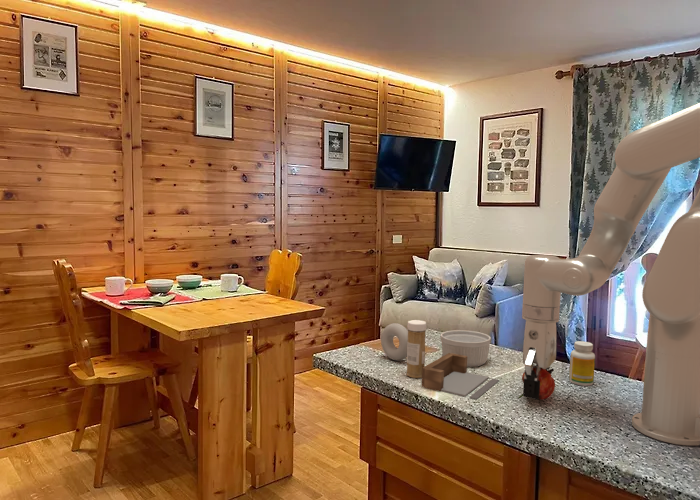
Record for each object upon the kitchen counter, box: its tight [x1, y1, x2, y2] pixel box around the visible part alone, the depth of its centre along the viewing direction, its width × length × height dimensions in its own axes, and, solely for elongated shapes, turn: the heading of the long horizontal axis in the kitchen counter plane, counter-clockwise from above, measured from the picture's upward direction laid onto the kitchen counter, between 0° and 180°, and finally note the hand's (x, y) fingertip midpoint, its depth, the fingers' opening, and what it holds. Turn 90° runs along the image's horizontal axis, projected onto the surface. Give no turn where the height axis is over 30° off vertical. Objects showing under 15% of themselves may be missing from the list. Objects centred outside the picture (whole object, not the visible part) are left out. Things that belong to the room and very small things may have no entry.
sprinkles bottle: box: [405, 319, 427, 379], centre depth 126 cm, size 5×5×13 cm
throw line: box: [469, 378, 500, 400], centre depth 118 cm, size 2×15×1 cm, turn 146°
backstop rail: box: [421, 353, 468, 392], centre depth 124 cm, size 5×16×4 cm, turn 146°
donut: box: [380, 322, 408, 362], centre depth 138 cm, size 10×4×10 cm, turn 43°
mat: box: [440, 371, 490, 398], centre depth 122 cm, size 8×15×1 cm, turn 146°
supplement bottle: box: [568, 340, 596, 387], centre depth 124 cm, size 5×5×10 cm
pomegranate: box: [518, 368, 556, 401], centre depth 113 cm, size 7×7×10 cm
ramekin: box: [440, 329, 492, 368], centre depth 139 cm, size 13×13×7 cm
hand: (536, 391), depth 113 cm, fingers closed on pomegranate, 7 cm apart
